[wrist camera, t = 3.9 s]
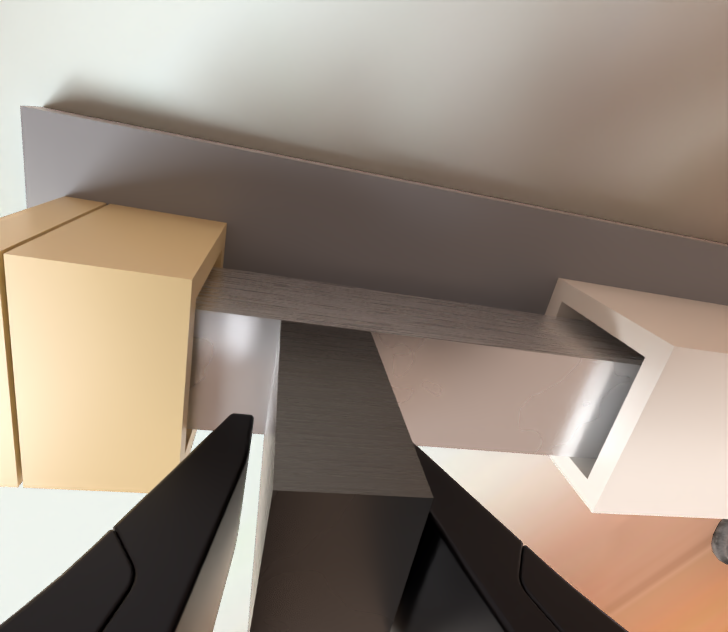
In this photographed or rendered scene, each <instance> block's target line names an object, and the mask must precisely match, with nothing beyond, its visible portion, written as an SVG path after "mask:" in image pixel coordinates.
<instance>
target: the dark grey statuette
mask: <svg viewBox="0 0 728 632" xmlns="http://www.w3.org/2000/svg"><path fill="white" fill-rule="evenodd" d="M711 544H712V550H713V553H714V554H715V556H716V557H717V558H718V559H719V560H720V561H722V562H723V563H725V564H728V519H722V520H721V522H720V523H719V524H718V526H717V528H716V530H715V532H714V534H713V538H712V543H711Z"/></svg>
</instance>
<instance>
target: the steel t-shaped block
mask: <svg viewBox="0 0 728 632" xmlns="http://www.w3.org/2000/svg"><path fill="white" fill-rule="evenodd" d="M644 359H645V357H644V356H643V355H641V354H640V353H638V352H637V351H635V350H634V349H632V348H631V347H629V346H628V345H626V344H625V343H623V342H622V341H620V340H619V339H617V338H616V337H614V336H613V335H611V334H610V333H608V332H607V331H605V330H604V329H602V328H601V327H599V326H598V325H596V324H595V323H593V322H591V321H584V320H577V319H570V318H563V317H556V316H549V315H542V314H536V313H529V312H522V311H515V310H508V309H501V308H494V307H487V306H480V305H474V304H467V303H460V302H453V301H446V300H439V299H432V298H425V297H419V296H412V295H405V294H398V293H391V292H384V291H377V290H370V289H363V288H357V287H350V286H343V285H336V284H329V283H322V282H315V281H308V280H301V279H295V278H288V277H281V276H274V275H267V274H260V273H253V272H246V271H239V270H233V269H226V268H219V267H213V268H212V270H211V271H210V273H209V275H208V277H207V279H206V281H205V283H204V285H203V287H202V288H201V290H200V292H199V294H198V296H197V298H196V307H195V320H194V334H193V348H192V361H191V375H190V389H189V403H188V416H187V429H198V430H212V431H214V430H215V429H216V428H217V427H218V426H219V425H220V424H221V423H222V422H223V421H224V420H225V419H226V418H227V417H228V416H229V415H230V414H232V413H238V414H249V415H252V416H253V417H254V423H253V430H252V433H253V434H264V443H263V455H262V467H261V479H260V491H259V503H258V515H257V527H256V538H255V550H254V562H253V574H252V586H251V598H250V610H249V622H248V632H390V630H391V627H392V624H393V621H394V618H395V615H396V611H397V608H398V605H399V602H400V599H401V596H402V593H403V590H404V587H405V584H406V581H407V578H408V575H409V572H410V569H411V566H412V563H413V560H414V556H415V553H416V550H417V547H418V544H419V541H420V538H421V535H422V532H423V529H424V526H425V523H426V520H427V517H428V514H429V511H430V508H431V505H432V501H433V495H432V492H431V490H430V487H429V484H428V482H427V479H426V476H425V474H424V471H423V469H422V466H421V463H420V461H419V458H418V455H417V453H416V450H415V447H414V445H413V443H414V444H415V445H416V446H430V447H444V448H457V449H471V450H485V451H498V452H512V453H525V454H539V455H553V456H566V457H580V458H594V459H597V458H598V456H599V454H600V452H601V449H602V447H603V445H604V443H605V441H606V439H607V437H608V435H609V433H610V430H611V428H612V426H613V424H614V422H615V420H616V418H617V416H618V414H619V411H620V409H621V407H622V405H623V403H624V401H625V399H626V397H627V395H628V392H629V390H630V388H631V386H632V384H633V382H634V380H635V378H636V376H637V373H638V371H639V369H640V367H641V365H642V363H643V361H644Z"/></svg>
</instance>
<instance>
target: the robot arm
mask: <svg viewBox="0 0 728 632" xmlns="http://www.w3.org/2000/svg"><path fill="white" fill-rule="evenodd" d="M253 423H254V417H253V416H252V415H249V414H238V413H232V414H230V415H229V416H228V417H227V418H226V419H225V420H224V421H223V422H222V423H221V424H220V425H219V426H218V427H217V428H216V429H215V430H214V431H213V432H212V433H211V434H209V435H208V436H207V437H206V438H205V439H204V440H203V441H202V442H201V443H200V444H199V445H198V446H197V447H196V448H195V449H194V450H193V451H192V452H191V453H190V454H189V455H188V456H187V457H186V458H185V459H183V460H182V461H181V462H180V463H179V464H178V465H177V466H176V467H175V468H174V469H173V470H172V471H171V472H170V473H169V474H168V475H167V476H166V477H165V478H164V479H163V480H162V481H161V482H160V483H159V484H157V485H156V486H155V487H154V488H153V489H152V490H151V491H150V492H149V493H148V494H147V495H146V496H145V497H144V498H143V499H142V500H141V501H140V502H139V503H138V504H137V505H136V506H135V507H134V508H132V509H131V510H130V511H129V512H128V513H127V514H126V515H125V516H124V517H123V518H122V519H121V520H120V521H119V522H118V523H117V524H116V525H115V526H114V527H113V530H109V531H108V532H107V533H106V534H105V535H104V536H103V537H102V538H101V539H100V540H99V541H98V542H97V543H96V544H95V545H94V546H93V547H92V548H90V549H89V550H88V551H87V552H86V553H85V554H84V555H83V556H82V557H81V558H79V559H78V560H77V561H76V562H75V563H74V564H73V565H72V566H71V567H70V568H68V569H67V570H66V571H65V572H64V573H63V574H62V575H61V576H60V577H58V578H57V579H56V580H55V581H54V582H52V583H51V584H50V585H49V586H47V587H46V588H45V589H44V590H43V591H41V592H40V593H39V594H38V595H37V596H35V597H34V598H33V599H32V600H31V601H29V602H28V603H27V604H26V605H24V606H23V607H22V608H21V609H20V610H18V611H17V612H16V613H15V614H13V615H12V616H11V617H10V618H8V619H7V620H6V621H5V622H3V623H2V624H1V625H0V632H213V628H214V625H215V621H216V617H217V614H218V610H219V606H220V602H221V599H222V595H223V591H224V587H225V584H226V580H227V576H228V573H229V569H230V565H231V561H232V558H233V554H234V550H235V545H236V541H237V536H238V530H239V524H240V516H241V509H242V502H243V495H244V488H245V480H246V473H247V466H248V459H249V452H250V444H251V437H252V430H253ZM413 445H414V447H415V450H416V453H417V455H418V458H419V461H420V463H421V466H422V469H423V471H424V474H425V476H426V479H427V482H428V484H429V487H430V490H431V492H432V495H433V501H432V505H431V508H430V511H429V514H428V517H427V520H426V523H425V526H424V529H423V532H422V535H421V538H420V541H419V544H418V547H417V550H416V553H415V556H414V560H413V563H412V566H411V569H410V572H409V575H408V578H407V581H406V584H405V587H404V590H403V593H402V596H401V599H400V602H399V605H398V608H397V611H396V615H395V618H394V621H393V624H392V627H391V630H390V632H628V631H627V630H625V629H624V628H623V627H622V626H620V625H619V624H618V623H617V622H615V621H614V620H613V619H612V618H610V617H609V616H608V615H607V614H605V613H604V612H603V611H602V610H600V609H599V608H598V607H597V606H596V605H594V604H593V603H592V602H591V601H589V600H588V599H587V598H586V597H585V596H583V595H582V594H581V593H580V592H578V591H577V590H576V589H575V588H574V587H572V586H571V585H570V584H569V583H568V582H567V581H565V580H564V579H563V578H562V577H561V576H560V575H559V574H557V573H556V572H555V571H554V570H553V569H552V568H551V567H549V566H548V565H547V564H546V563H545V562H544V561H543V560H542V559H541V558H539V557H538V556H537V555H536V554H535V553H534V552H533V551H532V550H531V549H530V548H528V547H527V546H525V545H524V546H523V543H522V541H521V540H519V539H518V538H517V537H516V536H515V535H514V534H513V533H512V532H511V531H510V530H509V529H507V528H506V527H505V526H504V525H503V524H502V523H501V522H500V521H499V520H498V519H496V518H495V517H494V516H493V515H492V514H491V513H490V512H489V511H488V510H487V509H485V508H484V507H483V506H482V505H481V504H480V503H479V502H478V501H477V500H476V499H475V498H473V497H472V496H471V495H470V494H469V493H468V492H467V491H466V490H465V489H464V488H462V487H461V486H460V485H459V484H458V483H457V482H456V481H455V480H454V479H453V478H452V477H450V476H449V475H448V474H447V473H446V472H445V471H444V470H443V469H442V468H441V467H439V466H438V465H437V464H436V463H435V462H434V461H433V460H432V459H431V458H430V457H429V456H427V455H426V454H425V453H424V452H423V451H422V450H421V449H420V448H419V447H418V446H416V445H415V444H414V443H413Z"/></svg>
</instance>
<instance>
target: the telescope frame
mask: <svg viewBox="0 0 728 632" xmlns="http://www.w3.org/2000/svg"><path fill="white" fill-rule="evenodd" d="M20 109H21V124H22V140H23V155H24V171H25V186H26V202H27V209H25V210H22V211H19V212H16V213H13V214H10V215H7V216H4V217H1V218H0V487H19V485H20V484H21V483H22V481H23V488H45V489H67V490H90V491H112V492H135V493H149V492H150V491H151V490H152V489H153V488H154V487H155V486H156V485H157V484H159V483H160V482H161V481H162V480H163V479H164V478H165V477H166V476H167V475H168V474H169V473H170V472H171V471H172V470H173V469H174V468H175V467H176V466H177V465H178V464H179V463H180V462H181V461H182V460H183V459H185V458H186V457H187V456H188V455H189V454H190V451H191V448H192V444H193V441H194V438H195V434H196V431H197V429H187V416H188V403H189V389H190V375H191V361H192V348H193V334H194V320H195V307H196V298H197V296H198V294H199V292H200V290H201V288H202V287H203V285H204V283H205V281H206V279H207V277H208V275H209V273H210V271H211V270H212V268H213V267H219V268H226V269H233V270H239V271H246V272H253V273H260V274H267V275H274V276H281V277H288V278H295V279H301V280H308V281H315V282H322V283H329V284H336V285H343V286H350V287H357V288H363V289H370V290H377V291H384V292H391V293H398V294H405V295H412V296H419V297H425V298H432V299H439V300H446V301H453V302H460V303H467V304H474V305H480V306H487V307H494V308H501V309H508V310H515V311H522V312H529V313H536V314H542V315H549V316H556V317H563V318H570V319H577V320H584V321H591V322H593V323H595V324H596V325H598V326H599V327H601V328H602V329H604V330H605V331H607V332H608V333H610V334H611V335H613V336H614V337H616V338H617V339H619V340H620V341H622V342H623V343H625V344H626V345H628V346H629V347H631V348H632V349H634V350H635V351H637V352H638V353H640V354H641V355H643V356H644V357H645V359H644V361H643V363H642V365H641V367H640V369H639V371H638V373H637V376H636V378H635V380H634V382H633V384H632V386H631V388H630V390H629V392H628V395H627V397H626V399H625V401H624V403H623V405H622V407H621V409H620V411H619V414H618V416H617V418H616V420H615V422H614V424H613V426H612V428H611V430H610V433H609V435H608V437H607V439H606V441H605V443H604V445H603V447H602V449H601V452H600V454H599V456H598V458H597V459H594V458H580V457H566V456H553V455H548V456H549V457H550V459H551V460H552V461H553V462H554V464H555V465H556V466H557V468H558V469H559V470H560V472H561V473H562V474H563V475H564V477H565V478H566V479H567V481H568V482H569V483H570V485H571V486H572V487H573V489H574V490H575V491H576V492H577V494H578V495H579V496H580V498H581V499H582V500H583V502H584V503H585V504H586V505H587V507H588V508H589V509H590V511H591V512H592V513H605V514H627V515H650V516H672V517H694V518H717V519H728V244H724V243H719V242H714V241H709V240H704V239H699V238H694V237H689V236H684V235H679V234H674V233H669V232H664V231H659V230H654V229H649V228H644V227H639V226H634V225H629V224H624V223H619V222H614V221H609V220H604V219H599V218H594V217H589V216H584V215H579V214H574V213H569V212H564V211H559V210H554V209H549V208H544V207H539V206H534V205H529V204H524V203H519V202H514V201H509V200H504V199H499V198H494V197H489V196H484V195H479V194H474V193H469V192H464V191H459V190H454V189H449V188H444V187H439V186H434V185H429V184H424V183H419V182H414V181H409V180H404V179H399V178H394V177H389V176H384V175H379V174H374V173H369V172H364V171H359V170H354V169H349V168H344V167H339V166H334V165H329V164H324V163H319V162H314V161H309V160H304V159H299V158H294V157H289V156H284V155H279V154H274V153H269V152H264V151H259V150H254V149H249V148H244V147H239V146H234V145H229V144H224V143H219V142H214V141H209V140H204V139H199V138H194V137H189V136H184V135H179V134H174V133H169V132H164V131H159V130H154V129H149V128H144V127H139V126H134V125H129V124H124V123H119V122H114V121H109V120H104V119H99V118H94V117H89V116H84V115H79V114H74V113H69V112H64V111H59V110H54V109H49V108H44V107H35V106H20Z"/></svg>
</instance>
